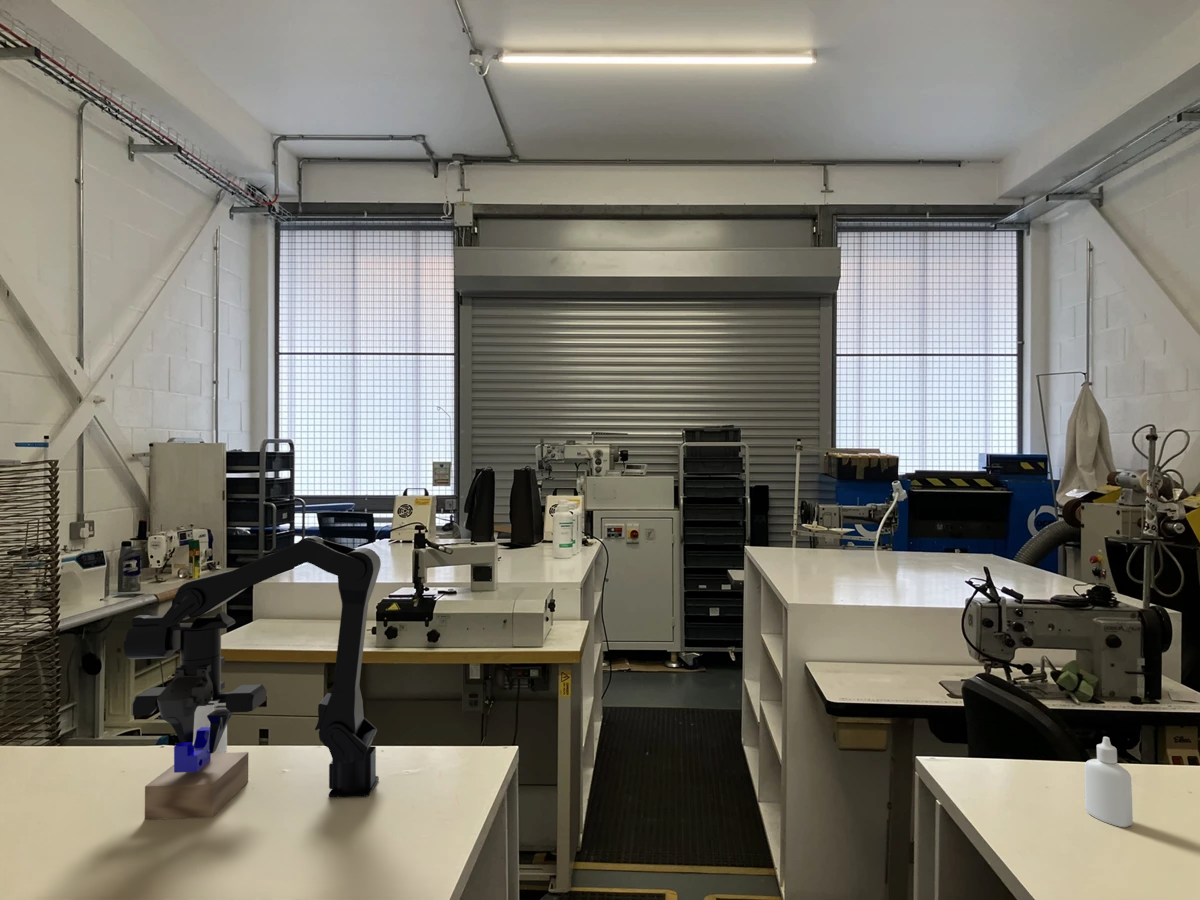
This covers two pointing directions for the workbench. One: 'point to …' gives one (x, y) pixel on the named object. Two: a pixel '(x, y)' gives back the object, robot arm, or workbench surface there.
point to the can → (203, 721)
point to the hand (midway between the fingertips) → (200, 752)
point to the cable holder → (193, 753)
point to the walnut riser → (197, 788)
